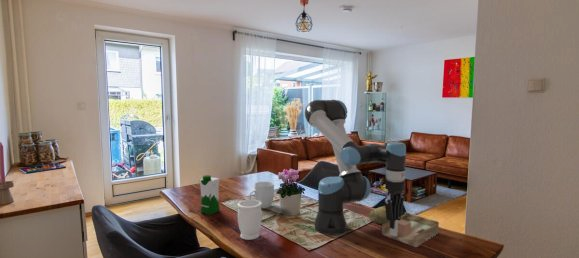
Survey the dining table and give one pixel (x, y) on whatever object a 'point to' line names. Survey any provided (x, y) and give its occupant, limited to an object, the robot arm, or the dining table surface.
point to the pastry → (378, 215)
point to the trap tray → (414, 230)
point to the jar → (249, 218)
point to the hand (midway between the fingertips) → (393, 235)
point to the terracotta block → (404, 227)
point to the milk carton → (209, 195)
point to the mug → (264, 193)
